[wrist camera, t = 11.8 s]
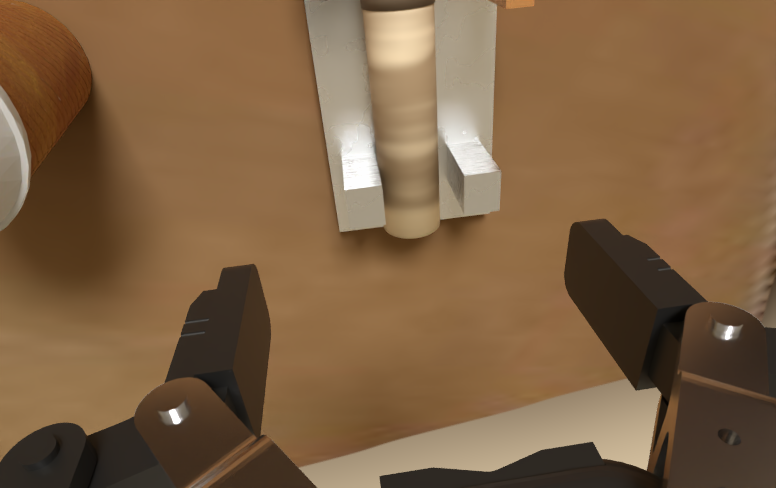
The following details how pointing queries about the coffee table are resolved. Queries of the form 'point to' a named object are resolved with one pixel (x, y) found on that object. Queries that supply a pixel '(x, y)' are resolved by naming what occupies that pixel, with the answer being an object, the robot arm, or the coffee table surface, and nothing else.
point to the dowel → (404, 111)
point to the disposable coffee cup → (34, 95)
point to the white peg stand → (454, 107)
